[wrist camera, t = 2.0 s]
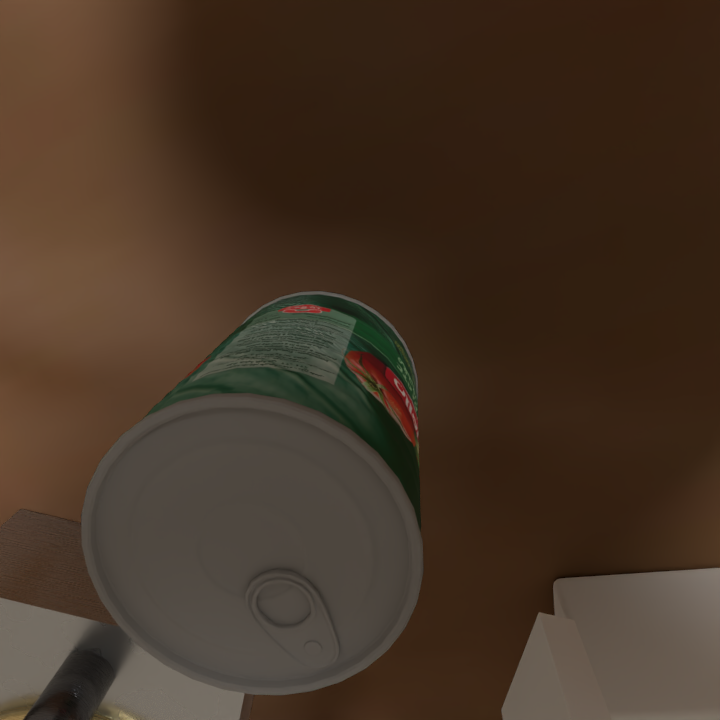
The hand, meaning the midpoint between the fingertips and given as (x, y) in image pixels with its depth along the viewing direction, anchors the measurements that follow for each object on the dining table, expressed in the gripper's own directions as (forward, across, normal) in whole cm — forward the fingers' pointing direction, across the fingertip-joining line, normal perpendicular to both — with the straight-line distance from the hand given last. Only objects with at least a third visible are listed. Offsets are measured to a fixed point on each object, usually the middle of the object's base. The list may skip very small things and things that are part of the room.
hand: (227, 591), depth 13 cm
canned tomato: (+12, 0, 0) cm, 12 cm away
